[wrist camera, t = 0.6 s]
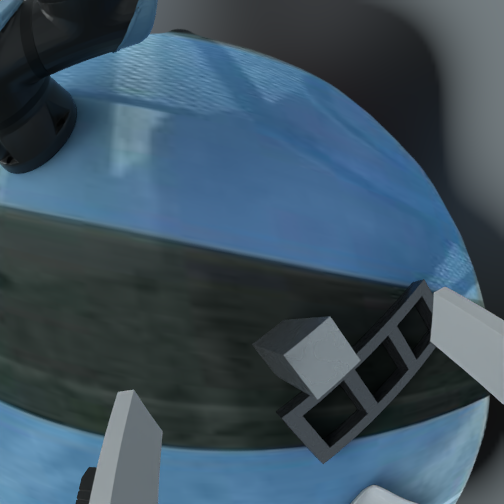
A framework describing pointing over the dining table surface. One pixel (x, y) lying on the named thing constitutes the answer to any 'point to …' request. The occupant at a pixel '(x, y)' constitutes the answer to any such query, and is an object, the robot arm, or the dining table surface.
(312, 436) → the rack rail
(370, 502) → the salad plate
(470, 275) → the dining table surface
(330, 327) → the grey upright post
